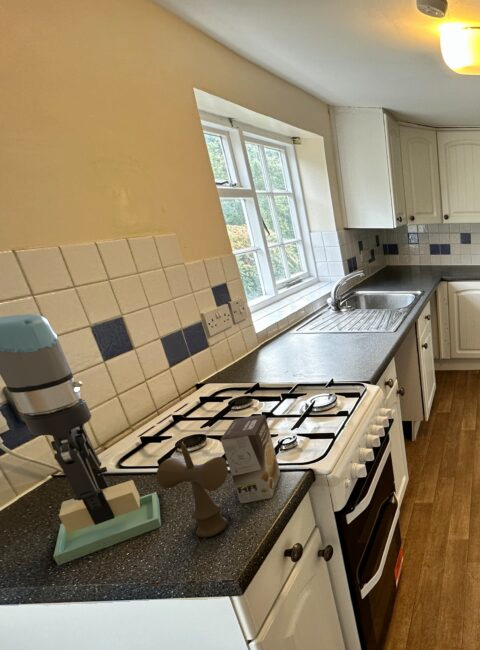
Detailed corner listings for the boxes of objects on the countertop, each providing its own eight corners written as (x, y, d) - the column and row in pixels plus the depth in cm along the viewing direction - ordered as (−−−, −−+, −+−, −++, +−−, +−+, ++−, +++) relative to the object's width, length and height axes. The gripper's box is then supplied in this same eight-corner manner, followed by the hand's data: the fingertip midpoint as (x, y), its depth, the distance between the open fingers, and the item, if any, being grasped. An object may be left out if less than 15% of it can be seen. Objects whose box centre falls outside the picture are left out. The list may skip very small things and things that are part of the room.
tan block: (68, 533, 74) (58, 516, 73) (71, 518, 78) (62, 501, 76) (139, 508, 80) (132, 492, 79) (139, 495, 84) (132, 479, 82)
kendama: (227, 542, 78) (196, 453, 70) (177, 541, 78) (141, 452, 70) (246, 519, 83) (220, 435, 76) (200, 518, 84) (169, 434, 76)
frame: (58, 565, 73) (53, 556, 72) (65, 532, 80) (60, 523, 79) (161, 526, 81) (157, 518, 81) (158, 499, 89) (155, 491, 88)
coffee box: (273, 498, 89) (255, 435, 83) (239, 504, 87) (219, 440, 81) (281, 473, 97) (265, 414, 91) (251, 478, 95) (233, 418, 89)
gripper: (78, 418, 66) (131, 529, 75) (87, 383, 79) (131, 481, 88) (9, 434, 62) (73, 550, 71) (30, 394, 74) (82, 497, 83)
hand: (105, 512), depth 79 cm, fingers closed on tan block, 5 cm apart
